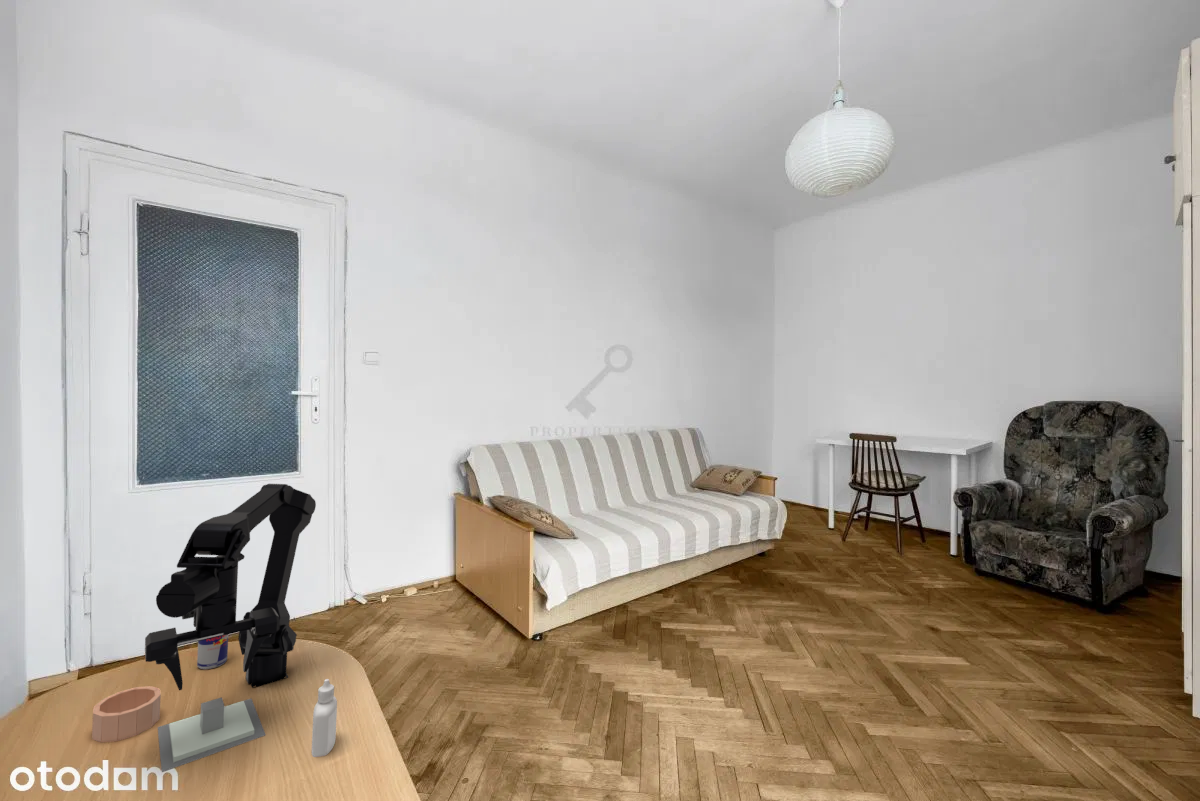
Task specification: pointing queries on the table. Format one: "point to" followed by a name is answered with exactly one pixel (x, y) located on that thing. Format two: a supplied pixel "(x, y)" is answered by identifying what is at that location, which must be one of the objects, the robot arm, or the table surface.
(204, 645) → the energy drink
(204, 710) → the lid
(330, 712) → the eye dropper bottle
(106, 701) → the bowl
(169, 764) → the mat
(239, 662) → the table surface
